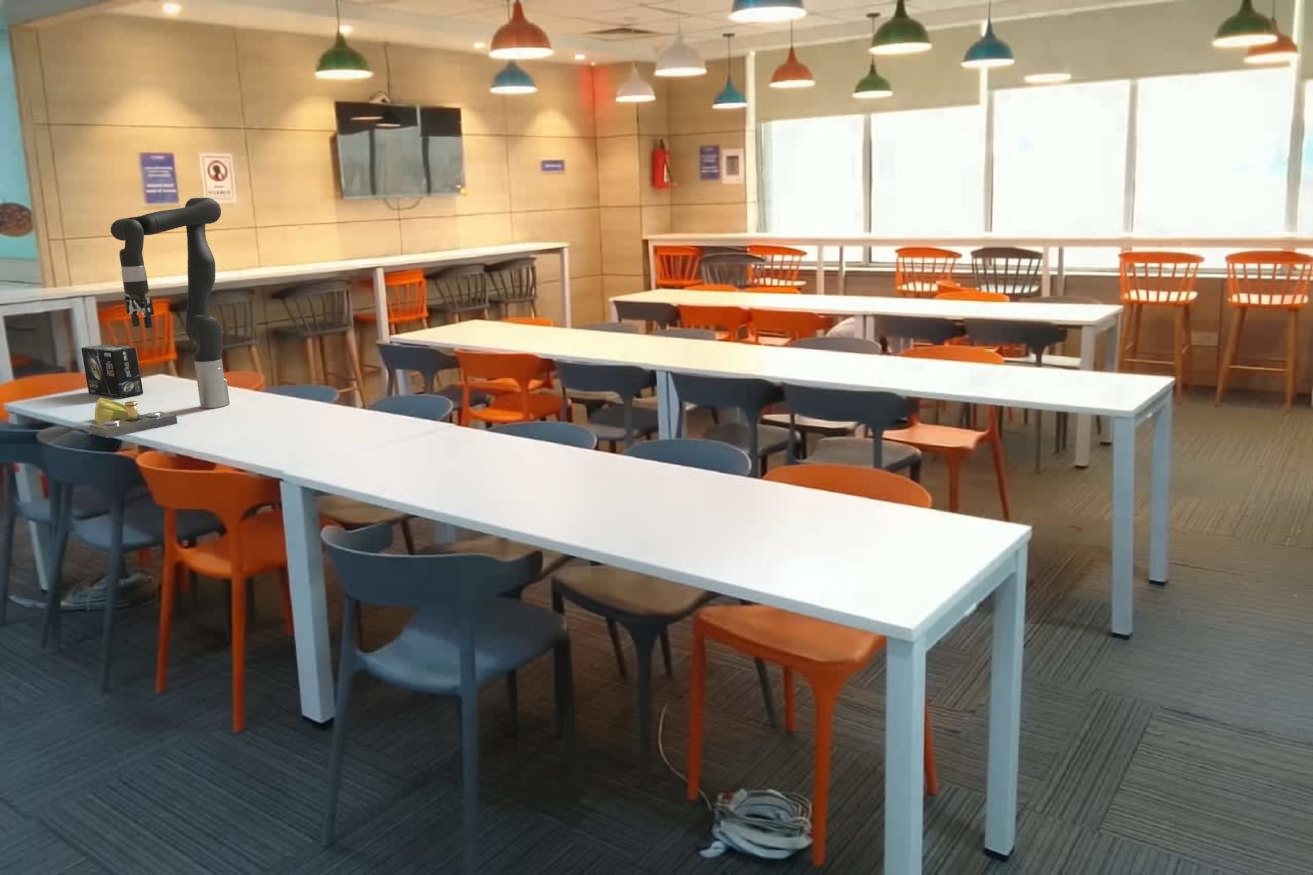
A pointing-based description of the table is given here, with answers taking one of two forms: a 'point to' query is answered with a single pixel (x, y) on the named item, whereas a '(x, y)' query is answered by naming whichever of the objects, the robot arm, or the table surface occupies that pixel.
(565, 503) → the table surface
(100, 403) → the plastic component
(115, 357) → the box
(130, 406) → the pin
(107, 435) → the grey slotted plate
